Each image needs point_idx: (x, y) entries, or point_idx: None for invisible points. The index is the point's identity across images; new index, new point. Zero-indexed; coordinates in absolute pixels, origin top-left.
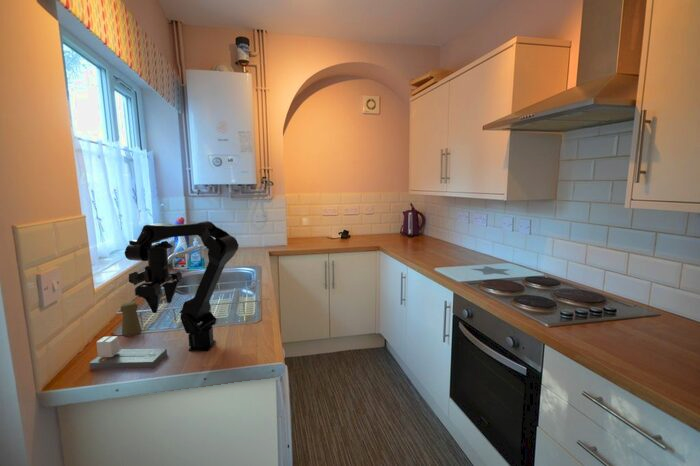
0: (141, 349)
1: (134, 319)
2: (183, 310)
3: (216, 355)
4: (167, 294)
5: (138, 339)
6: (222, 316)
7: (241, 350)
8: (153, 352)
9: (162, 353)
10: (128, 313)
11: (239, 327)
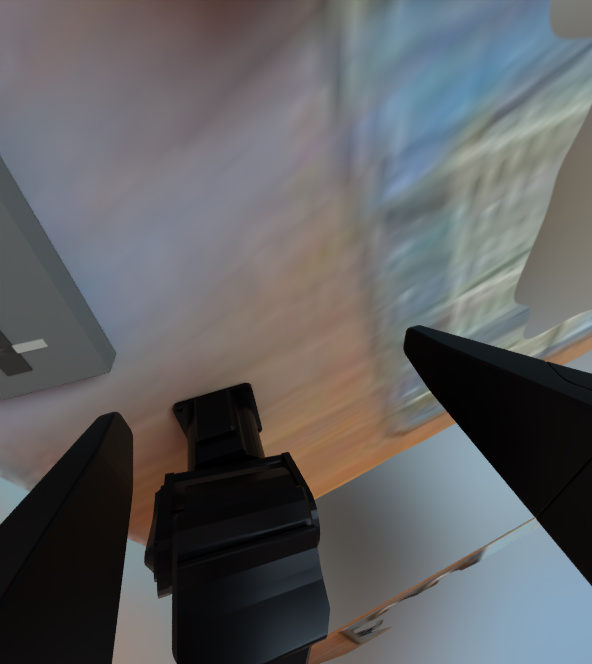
0: (29, 255)
1: None
2: (174, 608)
3: None
4: (487, 391)
5: (226, 34)
6: (459, 325)
7: None
8: (40, 347)
9: (67, 380)
10: None
11: (363, 418)
